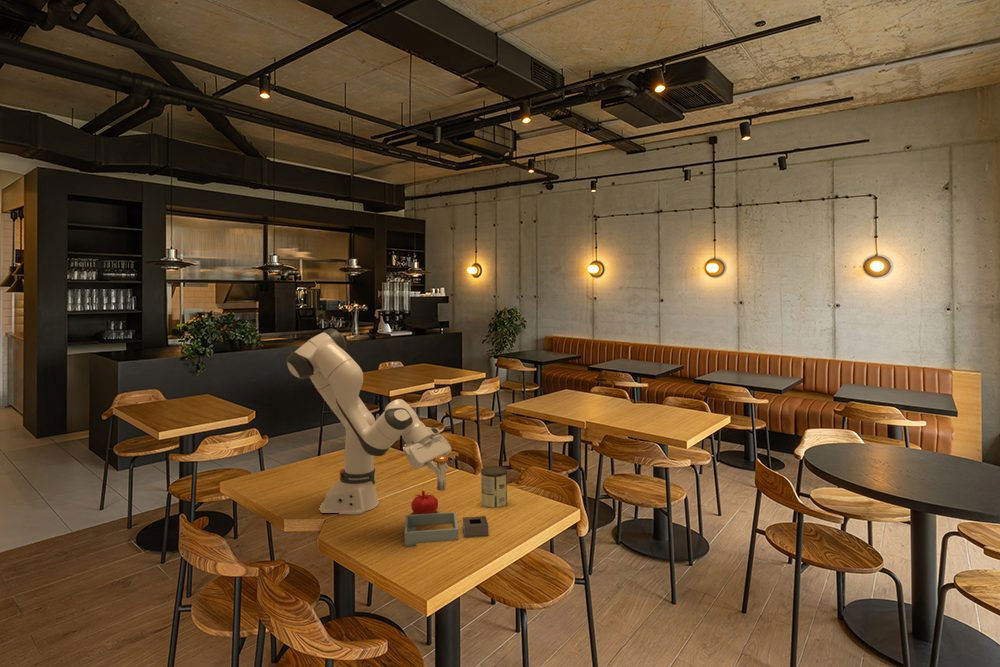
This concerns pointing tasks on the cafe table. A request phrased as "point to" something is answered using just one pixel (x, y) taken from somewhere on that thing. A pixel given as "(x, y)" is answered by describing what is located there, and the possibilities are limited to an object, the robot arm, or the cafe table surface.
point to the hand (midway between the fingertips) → (442, 470)
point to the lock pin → (441, 476)
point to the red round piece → (424, 504)
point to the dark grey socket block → (475, 526)
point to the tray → (429, 535)
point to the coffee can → (494, 486)
